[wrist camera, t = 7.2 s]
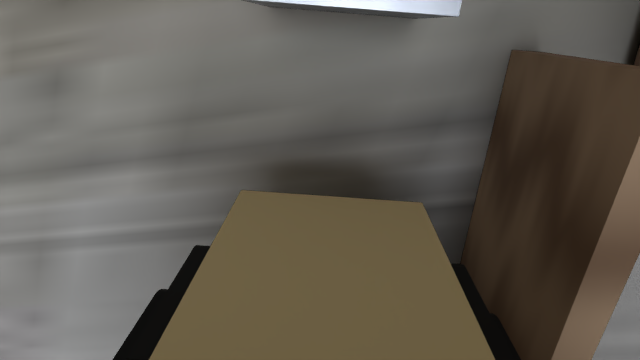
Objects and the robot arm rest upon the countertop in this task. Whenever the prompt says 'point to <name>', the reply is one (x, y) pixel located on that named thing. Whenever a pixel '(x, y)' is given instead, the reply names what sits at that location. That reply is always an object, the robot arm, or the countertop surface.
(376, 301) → the tan rectangular block
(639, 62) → the wooden block
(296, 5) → the grey stone cube
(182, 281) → the robot arm
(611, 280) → the rack
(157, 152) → the countertop surface
